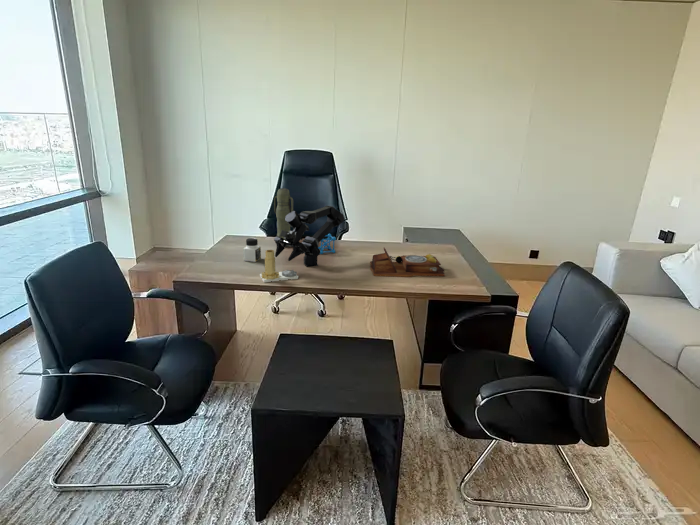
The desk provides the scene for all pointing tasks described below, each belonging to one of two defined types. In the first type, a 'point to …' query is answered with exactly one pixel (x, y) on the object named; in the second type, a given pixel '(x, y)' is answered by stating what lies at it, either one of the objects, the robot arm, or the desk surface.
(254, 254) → the white pill bottle
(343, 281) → the desk surface
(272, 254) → the yellow octagonal tube
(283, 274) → the gear board
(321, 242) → the molecular structure
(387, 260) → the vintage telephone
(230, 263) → the desk surface
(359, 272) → the desk surface
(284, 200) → the thermos
